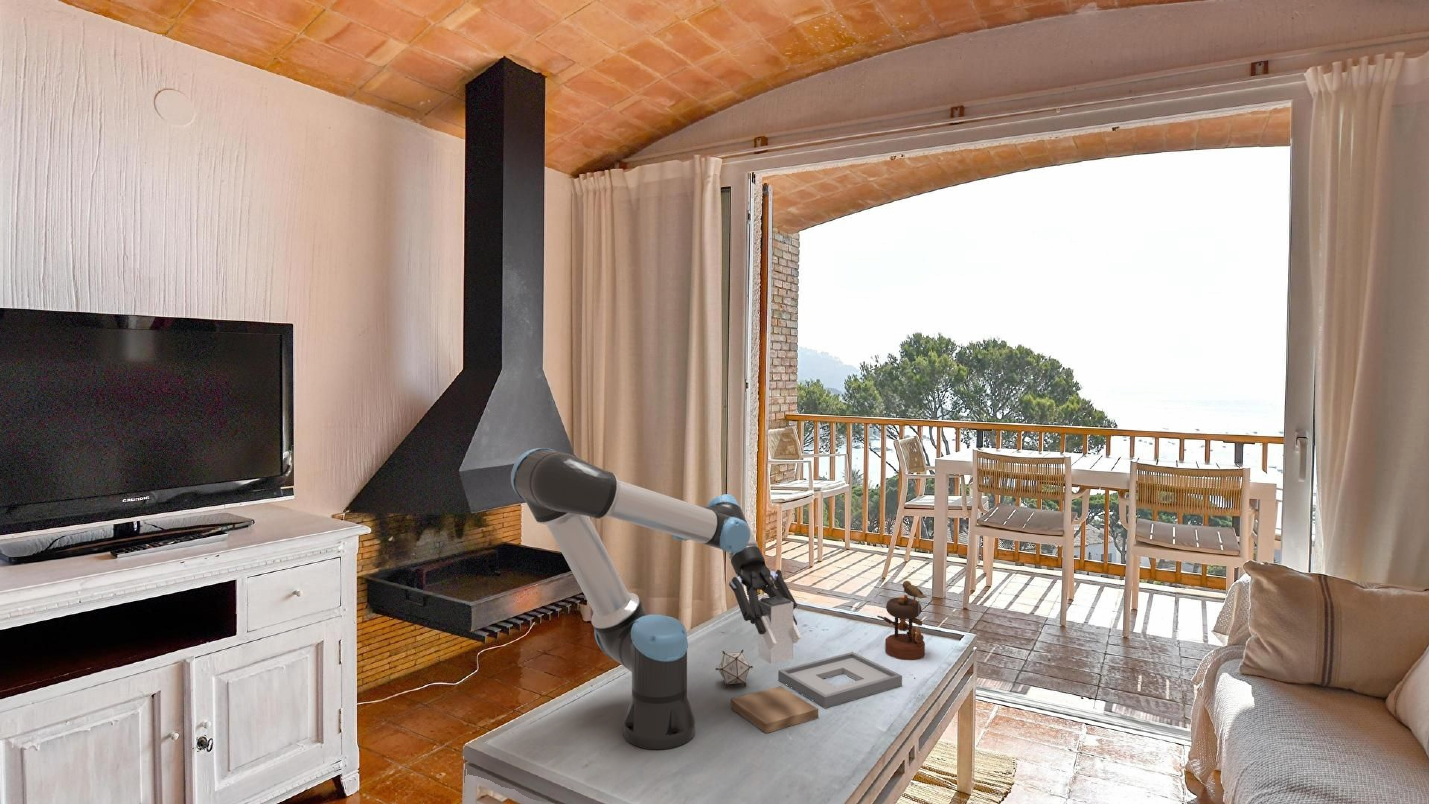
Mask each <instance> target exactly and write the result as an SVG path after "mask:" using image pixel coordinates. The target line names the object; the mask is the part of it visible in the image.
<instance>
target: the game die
mask: <svg viewBox="0 0 1429 804" xmlns="http://www.w3.org/2000/svg"><path fill="white" fill-rule="evenodd" d="M743 653H744V649H741V650H740V652H727V653H726V652H725V651H724V650H722V655H723V656H722V659H721V661H720V663H719V665H718V667H716V668H715V671H719V674H720V675H721V677H722V679H723V681H724V683H725V684H724V688H726V687H727V686H728V685H732V684H733V685H734V684H743V685H744V686H745V685H746V686H747V683H746V682H745V681H746V679H747V676H748V673H749V671H750V669H753V668H754V666H753V665H750V664H749V662H748V661H747V659H746V657H745V655H744V654H743Z"/></svg>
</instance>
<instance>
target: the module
mask: <svg viewBox="0 0 1429 804" xmlns="http://www.w3.org/2000/svg"><path fill="white" fill-rule="evenodd" d="M758 603H759V606H760V613H761V616H760V617H762V616H765V618H766V620H767V622H768V625H769V627H770V629H771V631H772V633H773V636H774V638H775V640H776V642H777V643H776V644H775V646H774V647H773V648H772V649H768V646H767V644H766V642H765V640H764V637H763V635H762V634H761V635H760V634H759V633H758V632H757V640H758V641H757V657H758V658H760V659H761V660H764V661H766V662H767V663H768V664H770V665H772V664H775V663H780V662H783V661H788V660H792V659H794V643H793V615H794V610H793V602H791V600H788V599H786V598H784V597H782V596H775V597H766V598H761V599H759V601H758Z"/></svg>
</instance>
